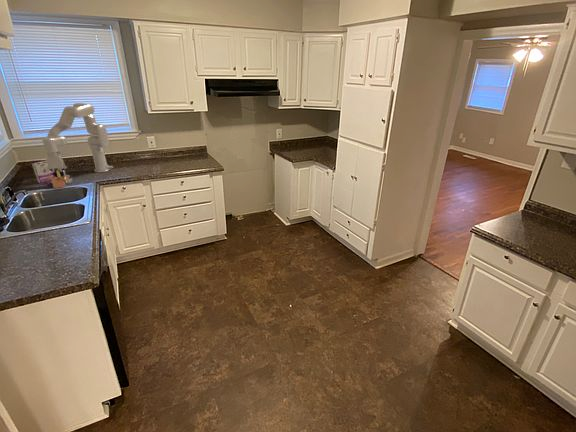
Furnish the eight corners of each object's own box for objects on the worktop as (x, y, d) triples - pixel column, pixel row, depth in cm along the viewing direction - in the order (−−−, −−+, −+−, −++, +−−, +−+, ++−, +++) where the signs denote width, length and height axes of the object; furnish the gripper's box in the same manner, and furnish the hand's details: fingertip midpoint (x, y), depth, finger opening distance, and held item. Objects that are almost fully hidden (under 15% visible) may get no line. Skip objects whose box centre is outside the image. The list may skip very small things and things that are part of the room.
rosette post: (73, 179, 264) (69, 165, 259) (67, 187, 248) (62, 172, 243) (59, 180, 261) (55, 166, 256) (52, 188, 245) (47, 173, 240)
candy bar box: (52, 179, 264) (46, 160, 257) (55, 180, 262) (49, 161, 255) (37, 182, 256) (31, 163, 249) (40, 183, 253) (34, 164, 246)
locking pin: (64, 181, 253) (60, 169, 249) (63, 182, 251) (59, 170, 246) (59, 181, 252) (56, 169, 248) (58, 183, 250) (54, 171, 245)
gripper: (66, 152, 247) (72, 174, 255) (41, 153, 242) (49, 176, 250) (63, 154, 241) (70, 177, 249) (38, 155, 236) (46, 179, 244)
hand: (59, 176), depth 249 cm, fingers open, 3 cm apart
